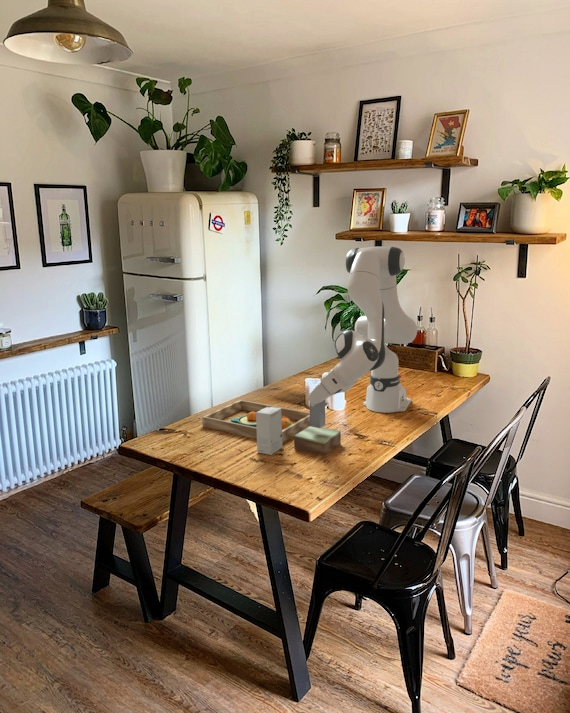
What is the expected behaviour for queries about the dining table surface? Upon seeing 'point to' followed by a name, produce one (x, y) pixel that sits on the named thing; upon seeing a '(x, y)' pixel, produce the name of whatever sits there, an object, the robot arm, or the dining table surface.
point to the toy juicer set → (251, 420)
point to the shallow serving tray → (216, 423)
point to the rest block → (317, 440)
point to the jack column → (317, 415)
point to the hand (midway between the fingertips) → (315, 402)
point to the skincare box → (269, 430)
